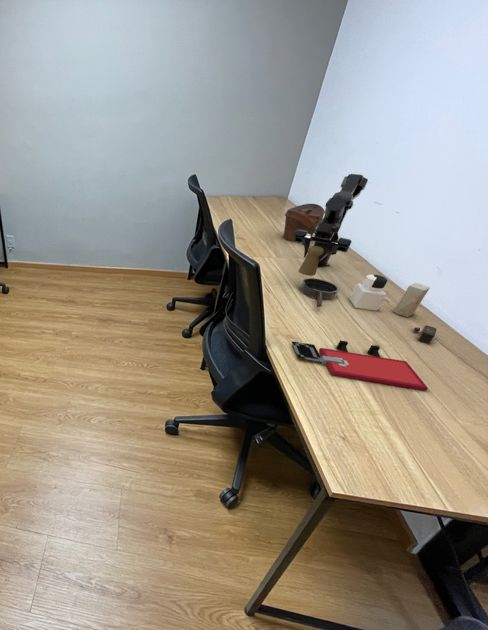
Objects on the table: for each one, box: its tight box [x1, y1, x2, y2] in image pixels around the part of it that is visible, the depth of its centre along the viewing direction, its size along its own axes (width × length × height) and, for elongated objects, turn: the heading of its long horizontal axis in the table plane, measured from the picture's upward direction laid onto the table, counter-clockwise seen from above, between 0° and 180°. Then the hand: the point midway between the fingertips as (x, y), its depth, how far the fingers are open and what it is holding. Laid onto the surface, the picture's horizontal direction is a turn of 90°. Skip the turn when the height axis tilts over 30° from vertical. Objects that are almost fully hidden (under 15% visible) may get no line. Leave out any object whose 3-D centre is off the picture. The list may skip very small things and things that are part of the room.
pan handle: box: [316, 291, 323, 308], centre depth 128 cm, size 12×2×2 cm, turn 147°
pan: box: [299, 277, 340, 301], centre depth 137 cm, size 12×12×4 cm
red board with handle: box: [291, 340, 429, 392], centre depth 100 cm, size 30×3×15 cm
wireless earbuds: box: [413, 324, 438, 344], centre depth 111 cm, size 5×7×3 cm, turn 133°
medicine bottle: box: [349, 273, 388, 312], centre depth 126 cm, size 7×7×12 cm
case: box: [283, 203, 325, 242], centre depth 186 cm, size 18×20×18 cm
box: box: [393, 282, 431, 318], centre depth 121 cm, size 5×4×11 cm
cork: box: [297, 245, 324, 277], centre depth 135 cm, size 6×6×11 cm
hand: (311, 259), depth 134 cm, fingers closed on cork, 5 cm apart
